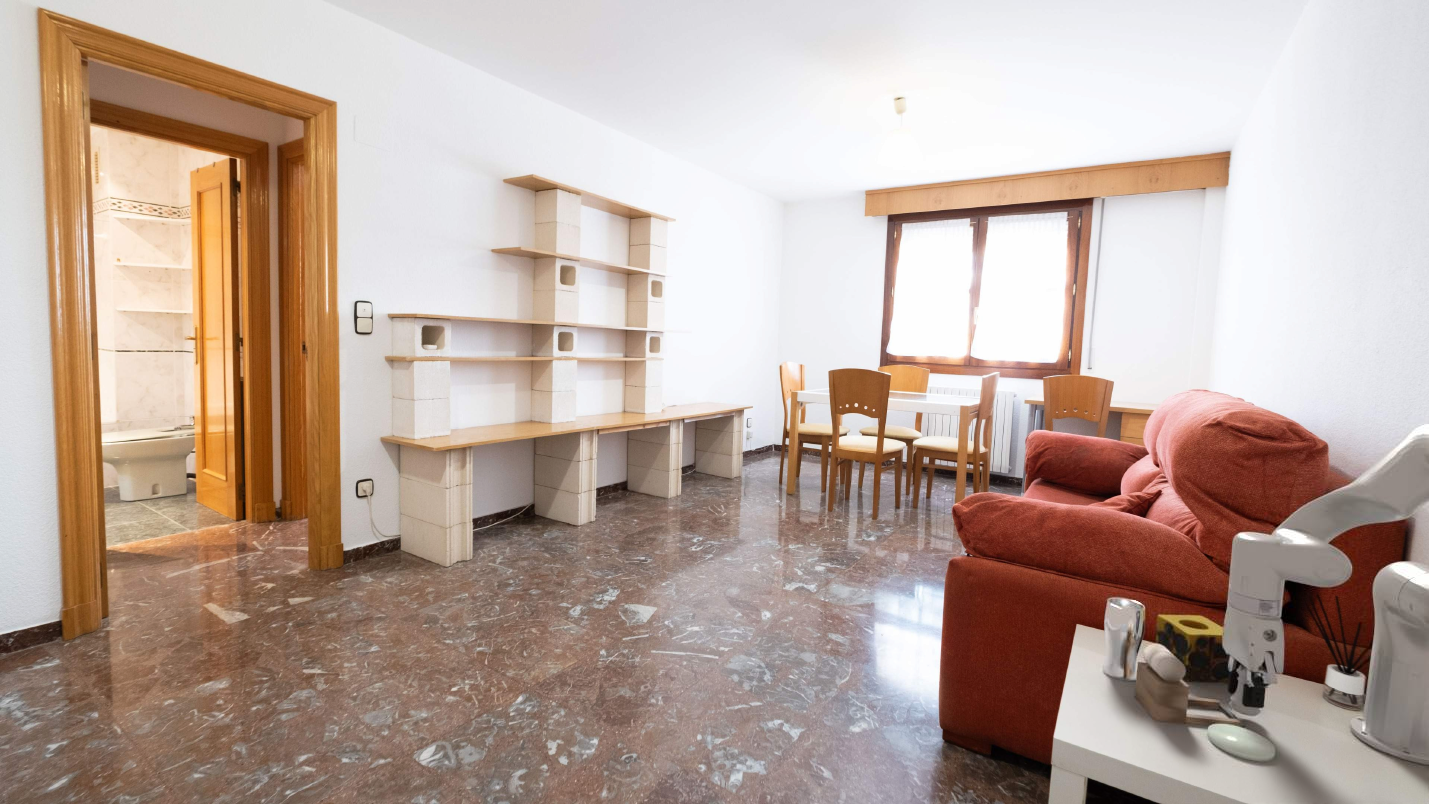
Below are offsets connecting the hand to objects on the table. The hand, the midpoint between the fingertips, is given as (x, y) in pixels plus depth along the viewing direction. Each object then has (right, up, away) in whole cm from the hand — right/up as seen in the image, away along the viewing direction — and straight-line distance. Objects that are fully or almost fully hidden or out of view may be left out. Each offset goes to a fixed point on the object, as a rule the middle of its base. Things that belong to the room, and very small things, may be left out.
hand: (1245, 699), depth 120 cm
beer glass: (-13, -2, +16) cm, 21 cm away
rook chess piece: (0, -2, 0) cm, 2 cm away
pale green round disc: (-7, -4, -7) cm, 11 cm away
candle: (+3, -2, +18) cm, 19 cm away
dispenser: (-9, -3, +2) cm, 10 cm away
